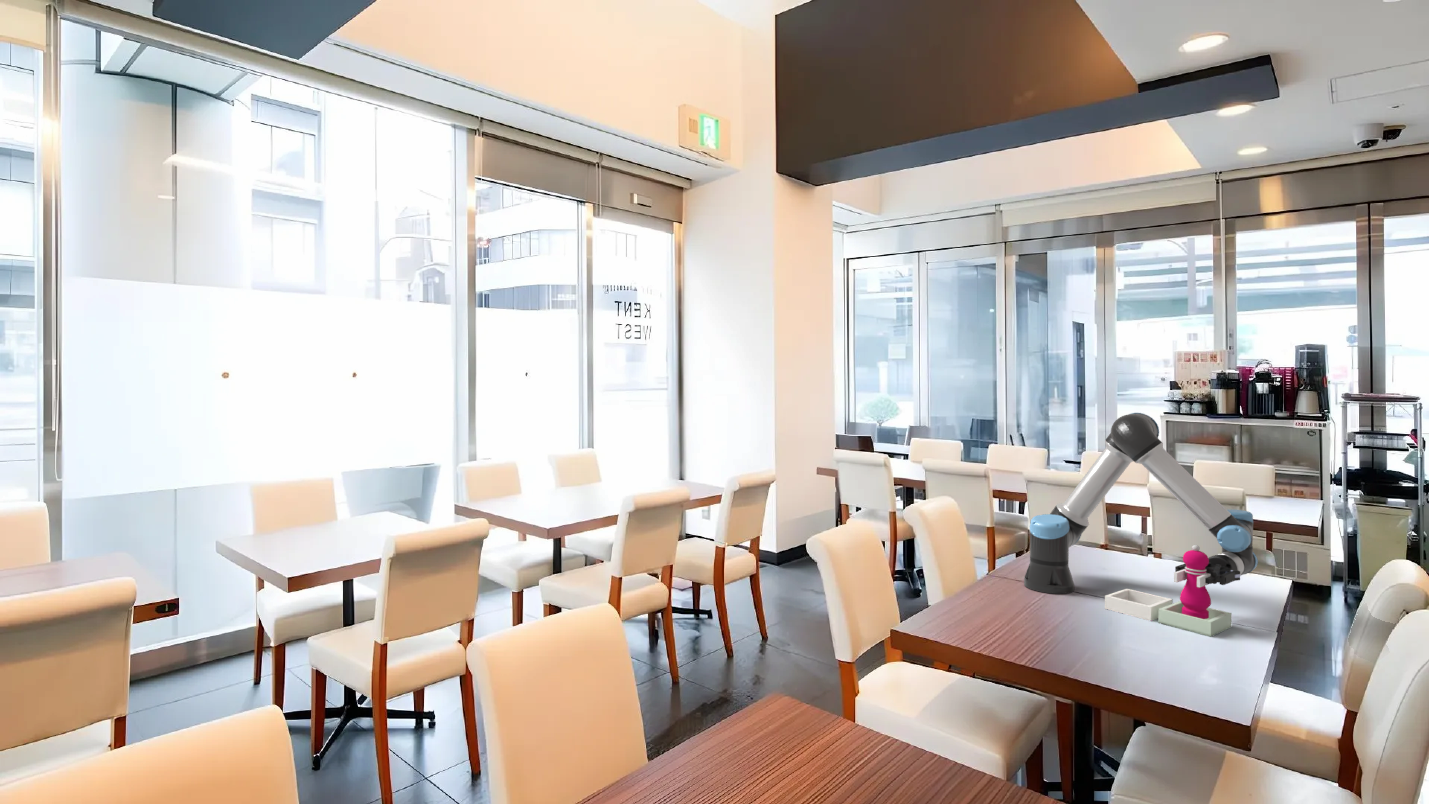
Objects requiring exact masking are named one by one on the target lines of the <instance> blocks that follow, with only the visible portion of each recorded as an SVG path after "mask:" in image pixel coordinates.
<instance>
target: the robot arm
mask: <svg viewBox="0 0 1429 804" xmlns="http://www.w3.org/2000/svg"><path fill="white" fill-rule="evenodd" d="M1159 434H1160V428H1159V424H1158V423H1157V422H1156V420H1155V419H1154V418H1153V417H1151V416H1150V415H1148V414H1146V413H1144V412H1143V413H1142V412H1131V413H1128V414H1125V415H1121V416H1120V417H1118V418H1116V420H1115V421H1114V422H1113V423H1112V425H1111V428H1110V433H1109V435H1107V437H1106V439H1104V442H1105V448H1104V450H1103V451H1102V452H1101V453H1100V454H1099V456H1098V457H1097V458H1096V460H1095V461H1094V462H1093V464H1092V466H1090V468H1089V470H1087V472H1086V473H1085V474H1084V476H1083V477H1082V479H1080V481H1079V483H1078V484H1077V485H1076V487H1075V488H1074V490H1073V491H1072V492H1071V493H1070V495H1069V496H1068V497H1067V498H1066V499H1065V501H1064V502H1063V503H1062V502H1061V503H1060V502H1059V503H1057V504H1056V505H1055V506H1054V508H1053V509H1052V510H1051V512H1049V514H1048V513H1047V514H1046V513H1045V514H1039V515H1035V516H1033V517H1032V518H1031V519H1030V524H1029V564H1028V566H1027V570H1026V572H1025V575H1024V577H1023V584H1024V585H1023V586H1024V587H1025V588H1027V589H1029V590H1031V591H1032V590H1033V591H1035V592H1036V591H1037V592H1040V593H1044V594H1045V593H1047V594H1055V595H1056V594H1059V595H1060V594H1061V595H1064V594H1071V593H1072V592H1074V591H1075V582H1074V580H1073V575H1072V572H1071V570H1070V567H1069V557H1070V556H1069V554H1070V553H1069V552H1070V549H1069V548H1070V547H1072V546H1074V545H1076V544H1077V543H1078V542H1079V541H1080V539H1081V537H1082V534H1083V533H1084V532H1085V531H1086V529H1087V528H1088V526H1089V525H1090V524H1089V517H1090V516H1091V515H1092V513H1093V512H1094V510H1095V509H1096V508H1097V507H1098V505H1099V504H1100V503H1101V502H1102V501H1103V499H1104V497H1106V496H1107V494H1108V493H1109V491H1110V490H1111V489H1112V487H1113V486H1114V485H1115V484H1116V482H1117V481H1118V480H1119V479H1120V477H1121V476H1122V475H1123V474H1124V472H1125V470H1127V468H1128V467H1129V465H1130V464H1131V463H1132V462H1134V463H1135V464H1139V465H1142V466H1143V467H1144V468H1145V469H1146V470H1147V471H1148V472H1149V473H1150V474H1151V475H1152V476H1153V477H1154V478H1155V479H1156V480H1157V481H1158V482H1159V483H1160V484H1161V485H1162V486H1163V487H1165V489H1166V490H1167V491H1168V492H1169V493H1170V494H1172V495H1173V496H1174V497H1175V499H1177V500H1178V502H1179V503H1180V504H1182V506H1184V507H1185V508H1186V509H1187V510H1188V511H1189V513H1191V514H1192V515H1193V516H1194V517H1195V518H1196V519H1197V521H1199V523H1201V524H1202V525H1203V526H1204V527H1205V528H1206V529H1207V530H1208V532H1210V534H1212V535H1213V536H1214V537H1215V539H1216V541H1217V543H1218V544H1219V546H1220V547H1221V553H1217V554H1215V555H1211V556H1208V559H1209V564H1208V565H1207V566H1206V567H1205V569H1206V574H1204V575H1201V576H1199V577H1197V587H1203V586H1205V587H1206V586H1207V585H1211V584H1213V585H1216V584H1217V583H1218V584H1219V585H1221V586H1225V585H1227V584H1230V583H1232V582H1235V581H1236V582H1237V581H1240V580H1241V576H1244V575H1247V574H1250V573H1251V572H1252V571H1254V570H1255V569H1256V568H1257V567H1258V563H1259V560H1258V557H1257V555H1256V554H1255V552H1254V549H1253V548H1254V546H1253V540H1254V515H1253V513H1252V512H1250V511H1248V510H1243V509H1227V508H1226V507H1224V505H1223V504H1222V503H1220V502H1219V500H1218V499H1217V498H1215V497H1214V496H1213V495H1212V494H1211V493H1210V492H1209V491H1208V490H1207V489H1206V488H1205V487H1204V486H1203V485H1202V484H1201V483H1200V482H1198V480H1197V479H1196V478H1194V476H1193V475H1192V474H1191V473H1189V472H1188V470H1187V469H1186V468H1185V467H1183V466H1182V465H1181V464H1180V463H1179V462H1178V461H1177V460H1176V459H1175V458H1174V457H1173V456H1172V455H1171V454H1170V453H1169V452H1168V451H1167V450H1166V449H1165V448H1164V442H1163V441H1162V440H1161V439H1160V438H1159V436H1160V435H1159ZM1185 567H1186V564H1185V563H1183V564H1180V565H1176V566H1175V569H1174V570H1175V571H1174V572H1173V583H1175V584H1176V583H1179V582H1183V581H1187V572H1185Z"/></svg>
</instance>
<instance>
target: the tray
mask: <svg viewBox="0 0 1429 804" xmlns="http://www.w3.org/2000/svg"><path fill="white" fill-rule="evenodd" d="M1182 607H1184V605H1183V604H1182V603H1181V601H1180V600H1179V601H1176V602H1174V603H1173V602H1172V604H1171V605H1168V606H1165V607H1163V608H1160V609H1159V616H1158V618H1157V619H1158V624H1160V623H1161V625H1164V626H1168V627H1172V628H1176V629H1178V630H1180V629H1181V630H1182V631H1186V632H1191V633H1194V634H1197V635H1202V636H1207V637H1213V635H1214V636H1216V635H1217V634H1219V632H1220V633H1222V632H1224V631H1226V630H1229V629H1230V627H1231V628H1232V612H1228V611H1224V610H1220V609H1217V608H1212V607H1211V608H1210V607H1208V608H1207V609H1206V610H1208V611H1209V618H1207V619H1201V618H1197V617H1193V616H1189V615H1185V614H1182Z"/></svg>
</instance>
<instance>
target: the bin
mask: <svg viewBox="0 0 1429 804" xmlns="http://www.w3.org/2000/svg"><path fill="white" fill-rule="evenodd" d="M1171 604H1173V599H1172V598H1168V597H1165V596H1160V595H1156V594H1151V593H1148V592H1142V591H1139V590H1135V589H1132V588H1124V589H1122V590H1118V591H1115V592H1113V593H1109V594H1106V595H1104V609H1105V610H1107V609H1108V610H1107V611H1111V610H1112V612H1116V613H1118V612H1119V614H1122V613H1123V615H1127V616H1130V615H1131V616H1130V617H1134V618H1139V619H1141V618H1142V620H1146V621H1149V620H1150V621H1149V622H1152V621H1154V620H1157V619H1158V616H1159V609H1160V608H1163V607H1165V606H1168V605H1171ZM1151 620H1152V621H1151Z"/></svg>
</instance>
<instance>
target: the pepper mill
mask: <svg viewBox="0 0 1429 804" xmlns="http://www.w3.org/2000/svg"><path fill="white" fill-rule="evenodd" d="M1208 558H1209V556H1208V555H1207V554H1206V553H1205V552H1203V551H1201V550H1200V546H1199V545H1197V544H1194V545H1192V546H1191V550H1187V551H1185V552H1184V554H1183V555H1182V561H1183V564H1186V567H1185V572H1187V579H1186V580H1185V581H1186V582H1185V584H1184V586H1183V588H1182V590H1181V592H1180V595H1179V601H1181V603H1182V604H1183V605H1184V607H1182V614H1185V615H1189V616H1193V617H1197V618H1201V619H1207V618H1209V611H1208V610H1206V609H1207V608H1210V606H1211V604H1212V600H1211V596H1210V594H1209V593H1210V592H1209V591H1208V590H1207V587H1206V585H1205V586H1203V587H1197V577H1199V576H1201V575H1204V574H1206V569H1205V567H1206V566H1207V565H1208V564H1209V559H1208Z"/></svg>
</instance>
